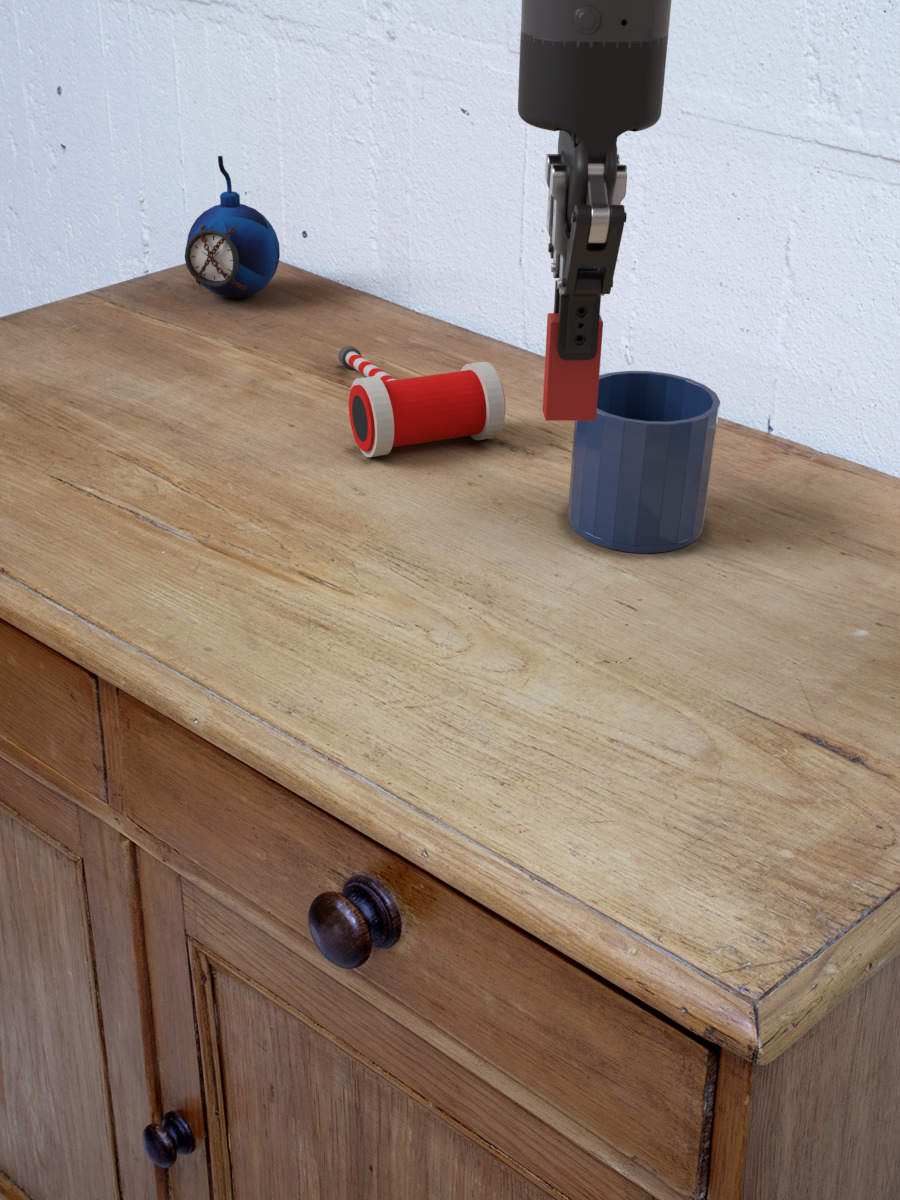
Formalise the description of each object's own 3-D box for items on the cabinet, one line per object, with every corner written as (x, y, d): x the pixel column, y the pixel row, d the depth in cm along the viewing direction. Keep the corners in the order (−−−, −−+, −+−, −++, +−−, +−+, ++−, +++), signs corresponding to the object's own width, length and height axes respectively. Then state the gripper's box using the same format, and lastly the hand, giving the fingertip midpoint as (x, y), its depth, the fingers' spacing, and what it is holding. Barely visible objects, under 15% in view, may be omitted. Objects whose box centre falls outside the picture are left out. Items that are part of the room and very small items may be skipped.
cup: (689, 492, 103) (704, 371, 98) (714, 554, 94) (732, 424, 89) (562, 491, 102) (570, 369, 97) (575, 553, 94) (586, 423, 89)
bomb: (170, 307, 138) (157, 161, 131) (213, 278, 147) (203, 139, 140) (257, 317, 136) (248, 169, 129) (294, 287, 145) (289, 146, 138)
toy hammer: (287, 373, 123) (284, 306, 120) (404, 358, 127) (404, 293, 124) (374, 470, 105) (373, 395, 102) (506, 449, 109) (510, 376, 106)
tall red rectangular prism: (592, 410, 78) (603, 260, 74) (596, 420, 77) (607, 269, 72) (542, 410, 78) (550, 260, 74) (545, 421, 77) (553, 269, 72)
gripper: (695, 45, 61) (659, 395, 70) (645, 8, 73) (620, 312, 82) (534, 44, 61) (519, 396, 70) (510, 7, 72) (500, 312, 81)
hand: (573, 349), depth 76 cm, fingers closed on tall red rectangular prism, 1 cm apart
